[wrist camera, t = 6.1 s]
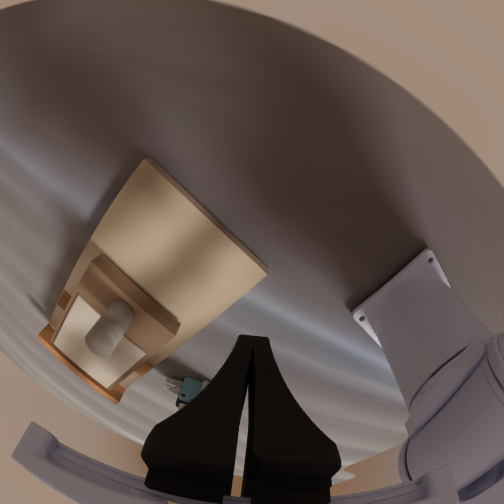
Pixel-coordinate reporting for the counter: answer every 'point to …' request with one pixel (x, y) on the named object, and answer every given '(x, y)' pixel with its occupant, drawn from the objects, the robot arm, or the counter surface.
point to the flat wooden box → (163, 262)
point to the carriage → (111, 325)
